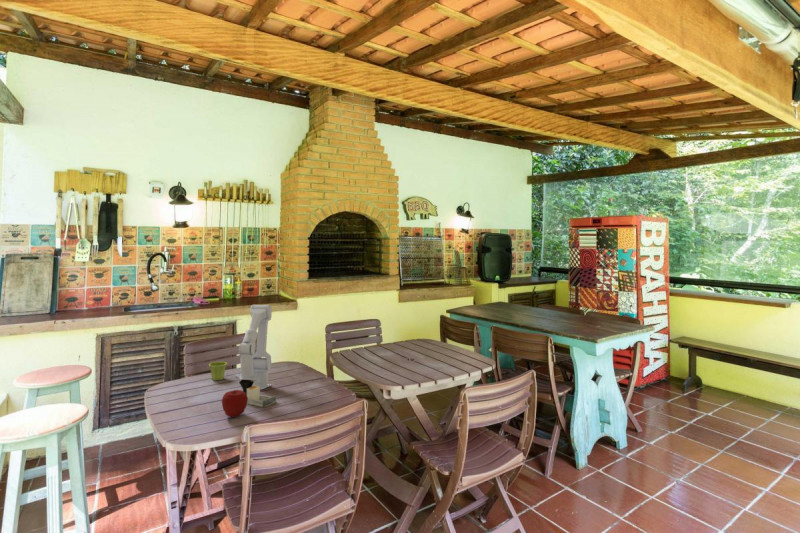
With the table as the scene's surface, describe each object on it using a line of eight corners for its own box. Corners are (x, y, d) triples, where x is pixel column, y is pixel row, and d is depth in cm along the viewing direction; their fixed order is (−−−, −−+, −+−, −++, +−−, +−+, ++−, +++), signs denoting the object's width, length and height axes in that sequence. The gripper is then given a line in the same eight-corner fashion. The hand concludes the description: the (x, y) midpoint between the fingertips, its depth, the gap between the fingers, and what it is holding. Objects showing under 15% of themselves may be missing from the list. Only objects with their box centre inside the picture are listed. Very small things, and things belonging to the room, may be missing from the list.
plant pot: (215, 376, 241) (214, 361, 241) (230, 376, 240) (230, 361, 239) (205, 381, 232) (205, 365, 231) (221, 382, 230) (221, 366, 230)
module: (246, 400, 201) (246, 387, 201) (253, 397, 205) (253, 385, 205) (253, 402, 199) (253, 389, 199) (259, 399, 203) (259, 386, 203)
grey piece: (239, 402, 200) (239, 396, 200) (251, 397, 208) (251, 391, 207) (264, 407, 194) (264, 401, 194) (275, 402, 202) (275, 395, 201)
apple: (239, 422, 178) (238, 395, 178) (216, 419, 180) (216, 393, 179) (252, 412, 189) (252, 386, 188) (230, 410, 191) (230, 385, 190)
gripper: (229, 367, 202) (229, 395, 203) (252, 371, 196) (252, 399, 197) (240, 363, 209) (240, 390, 209) (262, 367, 203) (262, 395, 203)
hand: (246, 394), depth 204 cm, fingers closed
